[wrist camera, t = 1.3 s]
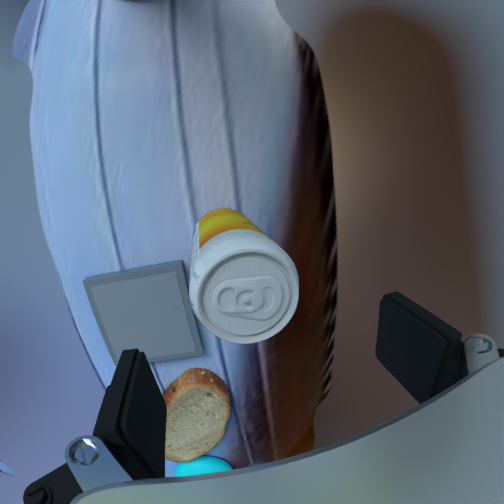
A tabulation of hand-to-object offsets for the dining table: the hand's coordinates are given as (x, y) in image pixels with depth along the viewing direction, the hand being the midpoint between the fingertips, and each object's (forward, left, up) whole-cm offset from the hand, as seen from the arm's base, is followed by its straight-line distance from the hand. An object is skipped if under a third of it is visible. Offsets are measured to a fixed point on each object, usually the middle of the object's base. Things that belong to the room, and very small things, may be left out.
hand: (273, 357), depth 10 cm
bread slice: (+25, -11, -20) cm, 34 cm away
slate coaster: (+7, -10, -20) cm, 23 cm away
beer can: (0, 0, -20) cm, 20 cm away
